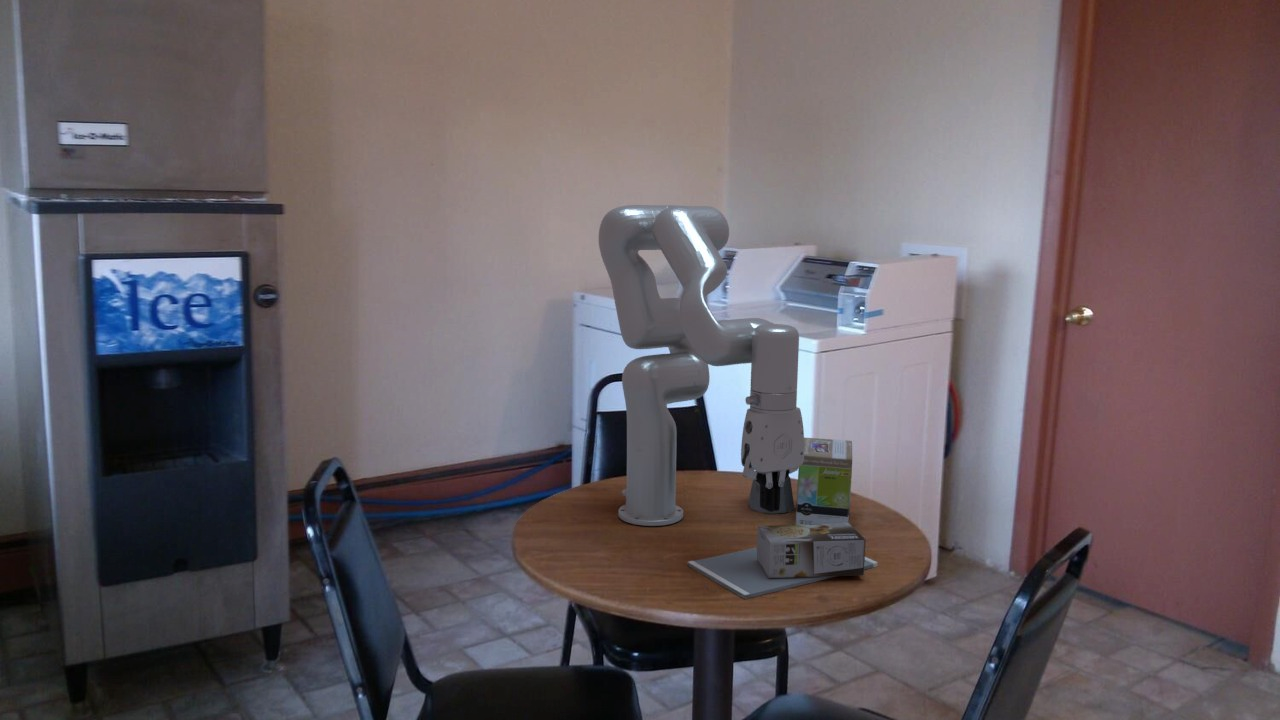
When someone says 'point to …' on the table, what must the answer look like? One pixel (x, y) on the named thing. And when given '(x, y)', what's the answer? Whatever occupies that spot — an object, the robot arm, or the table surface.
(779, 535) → the coffee box
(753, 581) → the mat
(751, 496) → the coffeepot
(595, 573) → the table surface
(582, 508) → the table surface
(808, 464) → the tea box
